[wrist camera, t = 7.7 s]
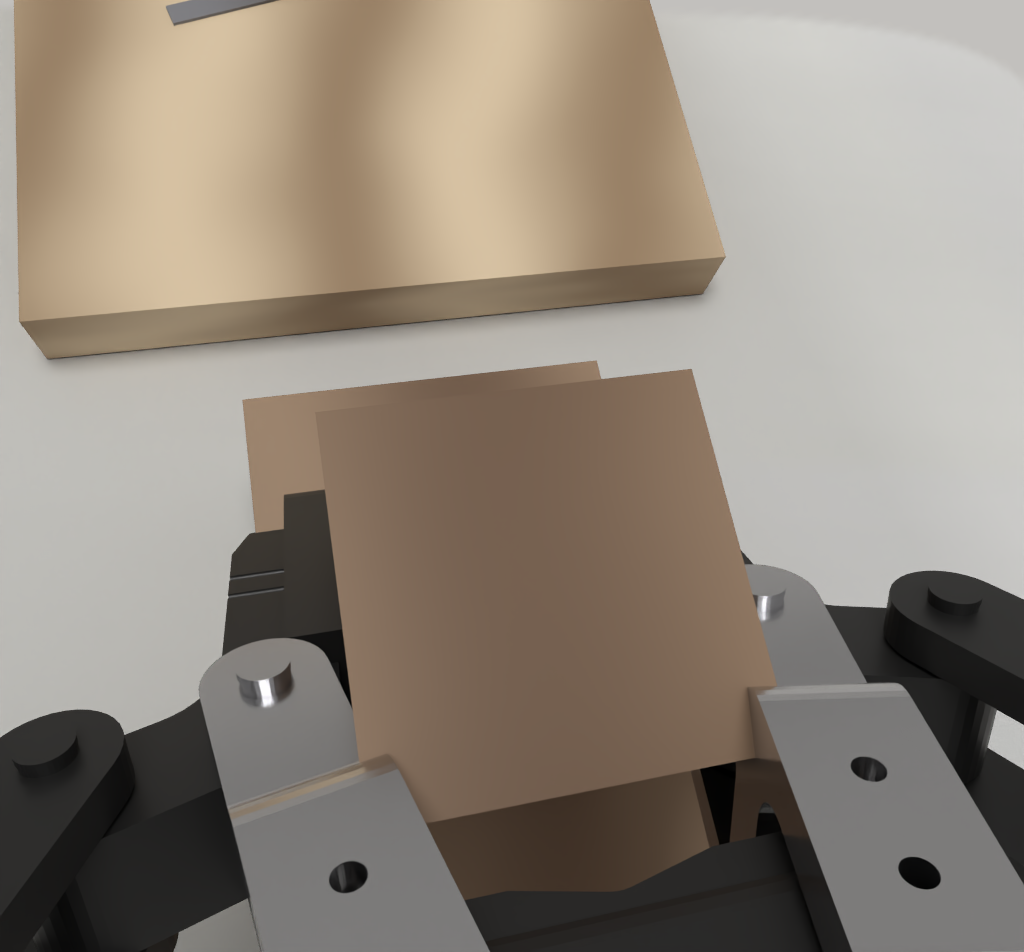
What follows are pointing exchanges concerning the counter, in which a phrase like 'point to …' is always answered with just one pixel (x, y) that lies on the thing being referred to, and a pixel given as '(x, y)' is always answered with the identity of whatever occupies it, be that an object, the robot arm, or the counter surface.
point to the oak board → (343, 166)
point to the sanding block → (531, 608)
